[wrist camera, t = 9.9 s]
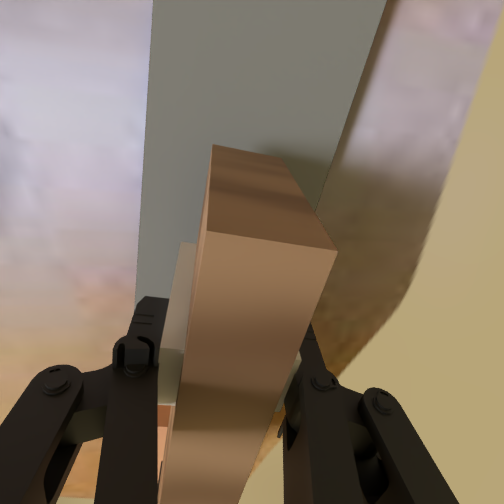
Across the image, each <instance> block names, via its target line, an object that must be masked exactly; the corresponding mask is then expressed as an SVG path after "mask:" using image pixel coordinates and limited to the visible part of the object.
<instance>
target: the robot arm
mask: <svg viewBox="0 0 504 504" xmlns="http://www.w3.org/2000/svg"><path fill="white" fill-rule="evenodd" d="M196 247H197V244H194V243H187V242H181V244H180V249H179V254H178V259H177V264H176V269H175V274H174V279H173V284H172V289H171V294H170V299H168V298H160V297H151V296H144V297H143V298H142V299H141V300H140V301H139V302H138V303H137V305H136V308H135V311H134V315H133V317H132V321H131V324H130V327H129V330H128V333H127V335H126V336H124V337H121V338H120V339H119V340H118V341H117V342H116V343H115V345H114V348H113V359H112V364H111V365H109V366H107V367H105V368H103V369H99V370H96V371H90V372H85V373H81V372H80V371H79V370H78V369H77V368H76V367H73V366H70V365H56V366H52V367H48V368H46V369H45V370H43V371H41V372H39V373H38V374H37V375H36V376H35V377H34V378H33V379H32V381H31V382H30V383H29V385H28V386H27V388H26V389H25V391H24V392H23V394H22V395H21V397H20V398H19V399H18V401H17V402H16V404H15V405H14V407H13V408H12V410H11V411H10V412H9V414H8V415H7V417H6V418H5V420H4V421H3V423H2V424H1V425H0V504H56V502H57V500H58V498H59V495H60V493H61V491H62V489H63V486H64V484H65V482H66V480H67V477H68V475H69V473H70V471H71V468H72V466H73V464H74V462H75V459H76V457H77V455H78V453H79V450H80V448H81V446H82V444H83V442H87V441H90V440H94V439H98V438H101V437H103V441H102V448H101V456H100V463H99V470H98V478H97V485H96V492H95V500H94V504H158V405H172V406H175V404H176V398H177V392H178V386H179V380H180V375H181V369H182V363H183V357H184V351H185V342H186V334H187V325H188V316H189V308H190V299H191V290H192V282H193V273H194V264H195V256H196ZM283 404H285V409H286V415H285V417H284V420H283V422H282V424H281V426H280V429H279V431H278V436H277V437H278V438H280V437H281V435H282V433H283V471H284V504H459V502H458V501H457V499H456V498H455V496H454V494H453V492H452V491H451V489H450V487H449V486H448V484H447V482H446V481H445V479H444V477H443V476H442V474H441V472H440V471H439V469H438V467H437V466H436V464H435V463H434V461H433V459H432V457H431V456H430V454H429V452H428V451H427V449H426V447H425V445H424V444H423V442H422V440H421V439H420V437H419V435H418V434H417V432H416V430H415V429H414V427H413V425H412V424H411V422H410V420H409V419H408V417H407V415H406V414H405V412H404V410H403V409H402V407H401V405H400V404H399V403H398V401H397V400H396V399H395V397H393V396H392V395H391V394H390V393H388V392H387V391H385V390H382V389H380V388H374V387H373V388H369V389H367V390H366V391H365V393H364V394H361V393H358V392H355V391H353V390H350V389H347V388H345V387H343V386H341V385H340V384H339V382H338V380H337V378H336V377H335V376H334V375H333V374H332V373H331V372H329V371H328V370H327V369H326V367H325V364H324V361H323V358H322V355H321V352H320V349H319V346H318V343H317V341H316V337H315V334H314V331H313V328H312V325H311V322H310V324H309V326H308V329H307V331H306V334H305V336H304V339H303V341H302V344H301V346H300V349H299V351H298V354H297V356H296V359H295V361H294V364H293V366H292V369H291V371H290V374H289V377H288V379H287V382H286V384H285V387H284V389H283V392H282V394H281V397H280V399H279V402H278V404H277V407H276V409H275V412H280V411H281V408H282V406H283Z"/></svg>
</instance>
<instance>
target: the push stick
mask: <svg viewBox="0 0 504 504" xmlns="http://www.w3.org/2000/svg"><path fill="white" fill-rule="evenodd" d="M337 253H338V250H337V248H336V247H335V245H334V243H333V242H332V240H331V238H330V237H329V235H328V234H327V232H326V230H325V229H324V227H323V225H322V224H321V222H320V220H319V219H318V217H317V215H316V214H315V212H314V211H313V209H312V207H311V206H310V204H309V202H308V201H307V199H306V197H305V196H304V194H303V193H302V191H301V189H300V188H299V186H298V184H297V183H296V181H295V179H294V178H293V176H292V174H291V173H290V171H289V170H288V168H287V166H286V165H285V163H284V161H283V160H282V158H279V157H274V156H269V155H264V154H259V153H254V152H250V151H245V150H240V149H235V148H230V147H225V146H220V145H215V144H212V149H211V156H210V162H209V169H208V175H207V181H206V188H205V194H204V200H203V207H202V213H201V219H200V226H199V232H198V238H197V247H196V256H195V264H194V273H193V282H192V290H191V299H190V308H189V316H188V325H187V334H186V342H185V351H184V357H183V363H182V369H181V375H180V380H179V386H178V392H177V398H176V404H175V406H172V405H171V410H170V416H169V422H168V429H167V435H166V441H165V448H164V455H163V461H161V466H160V472H159V479H158V504H238V502H239V500H240V497H241V494H242V492H243V490H244V487H245V484H246V482H247V480H248V477H249V475H250V472H251V470H252V467H253V465H254V462H255V459H256V457H257V454H258V452H259V449H260V447H261V444H262V442H263V439H264V437H265V434H266V432H267V429H268V427H269V424H270V422H271V419H272V417H273V414H274V412H275V409H276V407H277V404H278V402H279V399H280V397H281V394H282V392H283V389H284V387H285V384H286V382H287V379H288V377H289V374H290V371H291V369H292V366H293V364H294V361H295V359H296V356H297V354H298V351H299V349H300V346H301V344H302V341H303V339H304V336H305V334H306V331H307V329H308V326H309V324H310V321H311V319H312V316H313V314H314V311H315V309H316V306H317V304H318V301H319V299H320V296H321V294H322V291H323V289H324V286H325V284H326V281H327V278H328V276H329V273H330V271H331V268H332V266H333V263H334V261H335V258H336V256H337Z"/></svg>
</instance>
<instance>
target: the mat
mask: <svg viewBox="0 0 504 504" xmlns="http://www.w3.org/2000/svg"><path fill="white" fill-rule="evenodd" d="M386 2H387V0H153V12H152V29H151V45H150V61H149V78H148V94H147V111H146V127H145V144H144V160H143V176H142V193H141V209H140V226H139V242H138V259H137V275H136V291H135V308H136V305H137V303H138V302H139V301H140V300H141V299H142V298H143V297H144V296H151V297H160V298H168V299H170V294H171V289H172V284H173V279H174V274H175V269H176V264H177V259H178V254H179V249H180V244H181V242H187V243H194V244H197V238H198V232H199V226H200V219H201V213H202V207H203V200H204V194H205V188H206V181H207V175H208V169H209V162H210V156H211V149H212V144H215V145H220V146H225V147H230V148H235V149H240V150H245V151H250V152H254V153H259V154H264V155H269V156H274V157H279V158H282V160H283V161H284V163H285V165H286V166H287V168H288V170H289V171H290V173H291V174H292V176H293V178H294V179H295V181H296V183H297V184H298V186H299V188H300V189H301V191H302V193H303V194H304V196H305V197H306V199H307V201H308V202H309V204H310V206H311V207H312V209H313V211H314V212H315V210H316V207H317V204H318V201H319V198H320V195H321V192H322V189H323V186H324V183H325V181H326V178H327V175H328V172H329V169H330V166H331V163H332V160H333V157H334V154H335V151H336V148H337V145H338V142H339V139H340V137H341V134H342V131H343V128H344V125H345V122H346V119H347V116H348V113H349V110H350V107H351V104H352V101H353V98H354V95H355V93H356V90H357V87H358V84H359V81H360V78H361V75H362V72H363V69H364V66H365V63H366V60H367V57H368V54H369V51H370V49H371V46H372V43H373V40H374V37H375V34H376V31H377V28H378V25H379V22H380V19H381V16H382V13H383V10H384V7H385V5H386ZM135 308H134V311H135Z"/></svg>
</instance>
